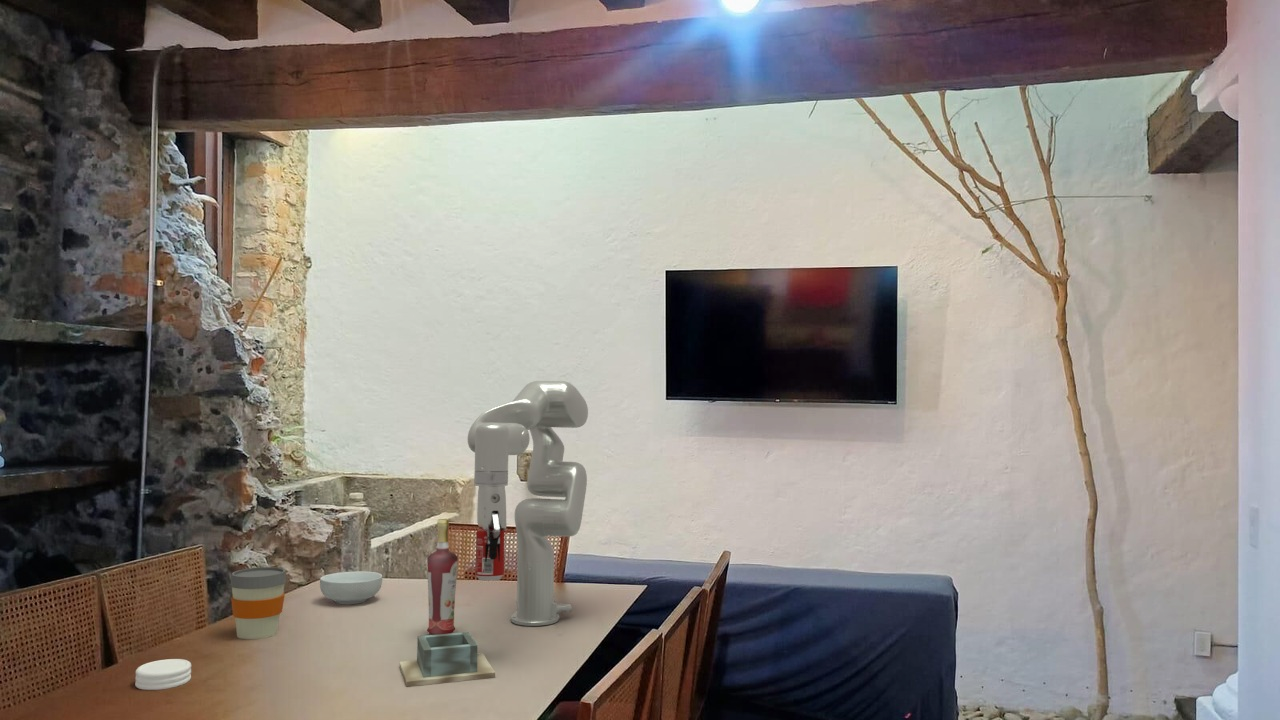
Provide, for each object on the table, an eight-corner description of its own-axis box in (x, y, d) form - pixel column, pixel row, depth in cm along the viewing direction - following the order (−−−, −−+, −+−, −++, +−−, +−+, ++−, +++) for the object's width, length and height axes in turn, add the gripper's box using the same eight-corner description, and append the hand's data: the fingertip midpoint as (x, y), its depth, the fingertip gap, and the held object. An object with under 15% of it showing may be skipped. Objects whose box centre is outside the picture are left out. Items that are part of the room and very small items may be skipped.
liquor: (448, 640, 211) (451, 522, 212) (420, 637, 212) (422, 521, 213) (461, 631, 218) (463, 518, 219) (433, 630, 219) (435, 517, 220)
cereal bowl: (394, 599, 251) (394, 574, 251) (346, 611, 237) (347, 585, 237) (354, 592, 260) (355, 567, 260) (306, 603, 246) (307, 577, 246)
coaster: (132, 694, 172) (132, 676, 172) (137, 678, 181) (138, 661, 181) (189, 687, 176) (190, 669, 176) (192, 672, 185) (192, 655, 185)
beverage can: (508, 577, 199) (509, 524, 200) (496, 581, 193) (496, 526, 194) (483, 576, 201) (484, 523, 202) (470, 580, 195) (471, 525, 196)
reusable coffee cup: (294, 634, 214) (295, 572, 215) (242, 644, 205) (243, 579, 206) (271, 624, 223) (272, 564, 223) (220, 634, 214) (222, 571, 214)
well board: (482, 658, 197) (483, 628, 197) (495, 677, 183) (495, 645, 184) (399, 666, 190) (400, 635, 190) (406, 686, 177) (407, 654, 177)
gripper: (516, 481, 192) (514, 565, 191) (499, 475, 208) (497, 553, 207) (482, 482, 189) (480, 567, 188) (467, 476, 205) (465, 554, 204)
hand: (489, 559), depth 198 cm, fingers closed on beverage can, 5 cm apart
